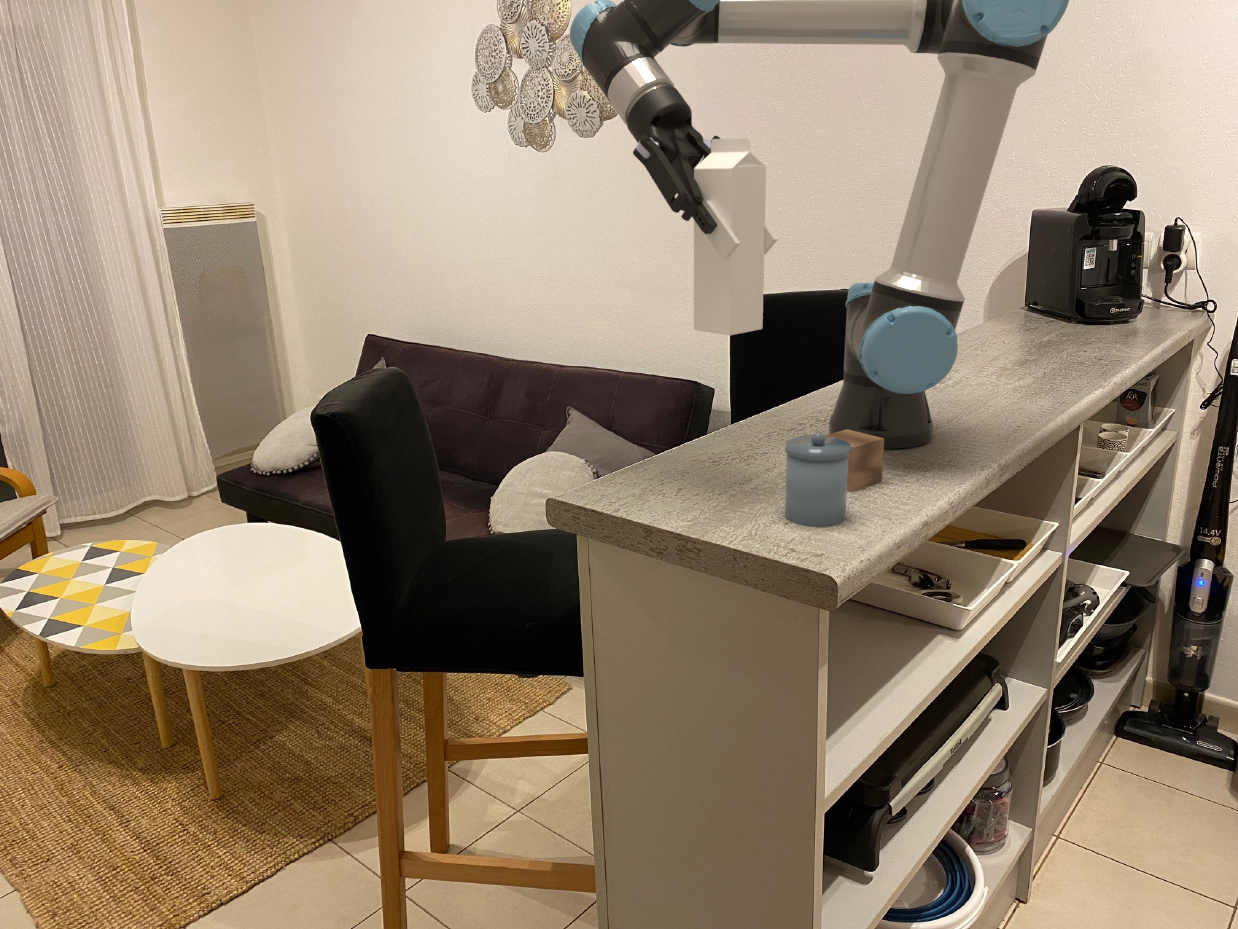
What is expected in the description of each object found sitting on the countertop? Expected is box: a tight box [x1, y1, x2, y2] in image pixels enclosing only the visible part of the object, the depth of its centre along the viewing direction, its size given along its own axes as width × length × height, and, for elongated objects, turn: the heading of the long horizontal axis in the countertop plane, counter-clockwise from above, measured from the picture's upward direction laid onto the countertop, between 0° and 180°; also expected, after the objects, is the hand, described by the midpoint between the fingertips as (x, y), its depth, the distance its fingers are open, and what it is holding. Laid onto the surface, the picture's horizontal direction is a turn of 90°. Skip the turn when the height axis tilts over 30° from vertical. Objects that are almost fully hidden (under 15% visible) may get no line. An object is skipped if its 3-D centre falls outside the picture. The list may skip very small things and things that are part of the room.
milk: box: [693, 137, 767, 336], centre depth 113 cm, size 6×6×22 cm
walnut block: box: [823, 429, 885, 493], centre depth 123 cm, size 6×6×6 cm
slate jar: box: [784, 432, 851, 528], centre depth 111 cm, size 7×7×10 cm
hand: (750, 249), depth 110 cm, fingers closed on milk, 6 cm apart
